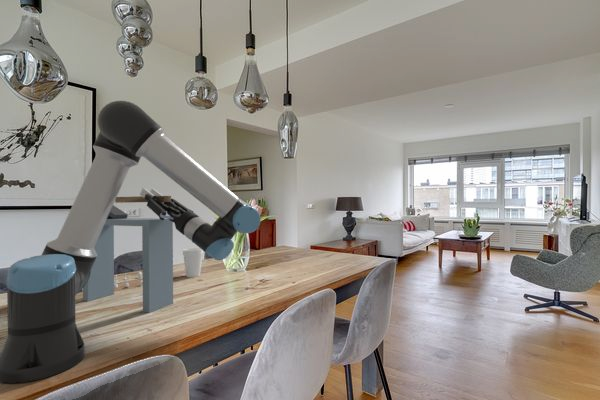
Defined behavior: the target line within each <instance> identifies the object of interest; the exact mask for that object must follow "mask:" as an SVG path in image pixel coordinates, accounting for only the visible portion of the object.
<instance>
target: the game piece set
mask: <svg viewBox="0 0 600 400" xmlns="http://www.w3.org/2000/svg"><path fill="white" fill-rule="evenodd" d="M124 275H125V277H123V279H124V280H128V278H127V274H126V273H124ZM137 277H138V279H141V278H142V277H143V272H141V271H138V272H137ZM117 278H118V275H117V274H115V275H114V289H117V288H118V287H119V286H118V285H119V284H118V283H119V280H118V279H117ZM139 282H140V286H139V287H143V279H142V280H140V281H139ZM124 287H126V288H129V287H130V284H129V282H126V283H125V285H124Z"/></svg>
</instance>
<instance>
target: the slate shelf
mask: <svg viewBox="0 0 600 400" xmlns="http://www.w3.org/2000/svg"><path fill="white" fill-rule="evenodd" d="M114 226H117V227H118V226H121V227H122V226H123V227H141V231H142V232H141V236H142V237H141V238H142V241H141V242H142V245H141V247H142V250H141V251H142V252H141V253H142V256H141V257H142V280H143V286H142V312H145V313H153V312H154V311H157V310H161V309H162V308H165V307H168V306H170V305H172V304H174V248H173V247H174V243H173V242H174V241H173V240H174V239H173V238H174V237H173V236H174V234H173V233H174V232H173V231H174V229H173V228H174V227H173V226H174V222H172V221H170V220H169V219H167V218H164V220H161V219H160V218H156V217H155V218H154V217H153V218H152V217H151V218H150V217H149V218H146V217H143V218H141V217H127V218H126V219H106V222H105V224H104V226H103V228H102V231H101V233H100V235H99V237H98V240H97V242H96V244H95V246H94V249H95V251H96V253H97V257H96V259H95V262H94V264H93V266H92V269H91V273H90V278H89V280H88V282H87V284H86V285H85V286H84V287H83V292H82V301H84V302H91V301H93V300H94V301H95V300H98V299H102V298H105V297H108V296H111V295H114V294H115V288H114V285H115V283H114V282H115V246H114V245H115V238H114V237H115V228H114Z"/></svg>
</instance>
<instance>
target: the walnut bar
mask: <svg viewBox="0 0 600 400" xmlns="http://www.w3.org/2000/svg"><path fill="white" fill-rule="evenodd" d="M156 199H158V200H159V201H161V202H171V199H172V195H163V196H156ZM114 203H115V204H117V203H125V204H126V203H148V201H147V200H146V199H145V198H143V197H142V196H141V195H139V196H117V197H116V199H115V202H114Z"/></svg>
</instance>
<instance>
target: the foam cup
mask: <svg viewBox="0 0 600 400" xmlns="http://www.w3.org/2000/svg"><path fill="white" fill-rule="evenodd" d="M203 254H204V251H203V250H202V249H201V248H199V247H187V248H183V249H182V256H183V261H184V262H183V263H184V268H185V269H184V270H185V275H186V277H187V278H196V277H200V275H201V270H202V261H203V256H204V255H203Z"/></svg>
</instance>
